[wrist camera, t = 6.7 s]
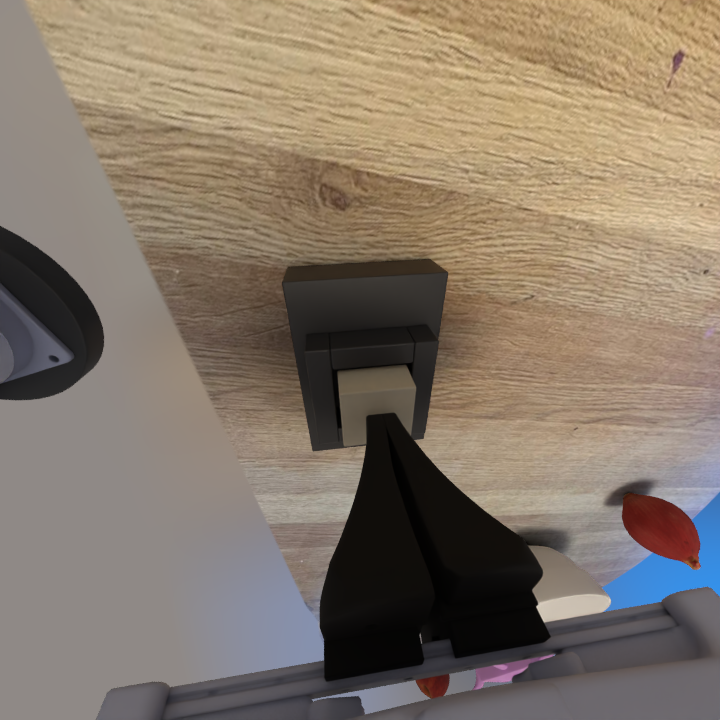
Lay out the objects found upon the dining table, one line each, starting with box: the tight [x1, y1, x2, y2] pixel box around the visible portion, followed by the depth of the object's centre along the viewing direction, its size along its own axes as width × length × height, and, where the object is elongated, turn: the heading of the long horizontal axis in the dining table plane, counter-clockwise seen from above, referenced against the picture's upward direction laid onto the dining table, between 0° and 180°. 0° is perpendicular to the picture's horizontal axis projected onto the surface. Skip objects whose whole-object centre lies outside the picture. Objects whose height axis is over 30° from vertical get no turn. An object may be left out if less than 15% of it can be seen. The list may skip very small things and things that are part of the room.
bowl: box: [528, 545, 611, 622], centre depth 38 cm, size 18×18×7 cm
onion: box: [622, 493, 701, 570], centre depth 31 cm, size 6×6×8 cm
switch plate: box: [282, 259, 448, 451], centre depth 17 cm, size 12×8×4 cm, turn 1°
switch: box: [337, 365, 416, 446], centre depth 14 cm, size 4×4×2 cm
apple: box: [416, 674, 449, 699], centre depth 63 cm, size 7×8×8 cm
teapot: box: [473, 655, 553, 690], centre depth 51 cm, size 18×14×10 cm
